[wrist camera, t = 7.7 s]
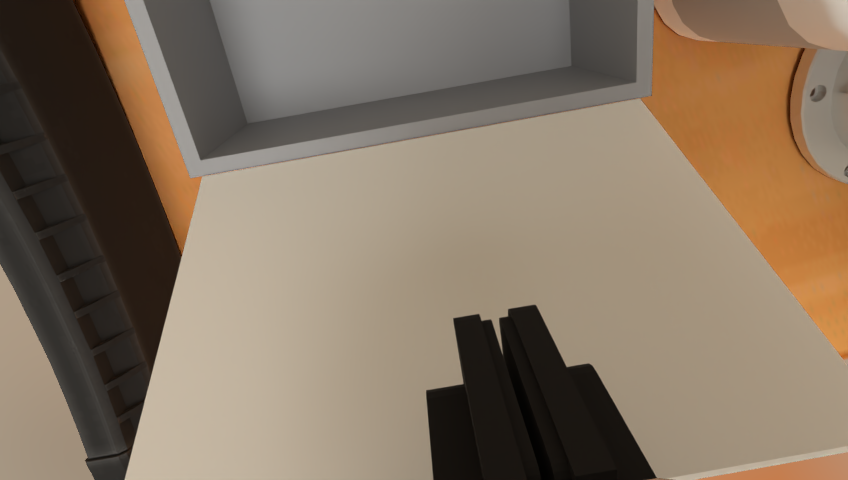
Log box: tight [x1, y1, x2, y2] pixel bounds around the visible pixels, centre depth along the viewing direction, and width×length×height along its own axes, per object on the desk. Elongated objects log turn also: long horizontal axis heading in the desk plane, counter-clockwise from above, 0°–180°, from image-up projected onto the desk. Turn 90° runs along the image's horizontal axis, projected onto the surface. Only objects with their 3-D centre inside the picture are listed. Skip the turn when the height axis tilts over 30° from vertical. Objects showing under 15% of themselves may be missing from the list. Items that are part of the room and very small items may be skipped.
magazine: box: [0, 0, 181, 480], centre depth 23 cm, size 17×3×30 cm
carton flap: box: [125, 99, 848, 480], centre depth 15 cm, size 17×13×1 cm
